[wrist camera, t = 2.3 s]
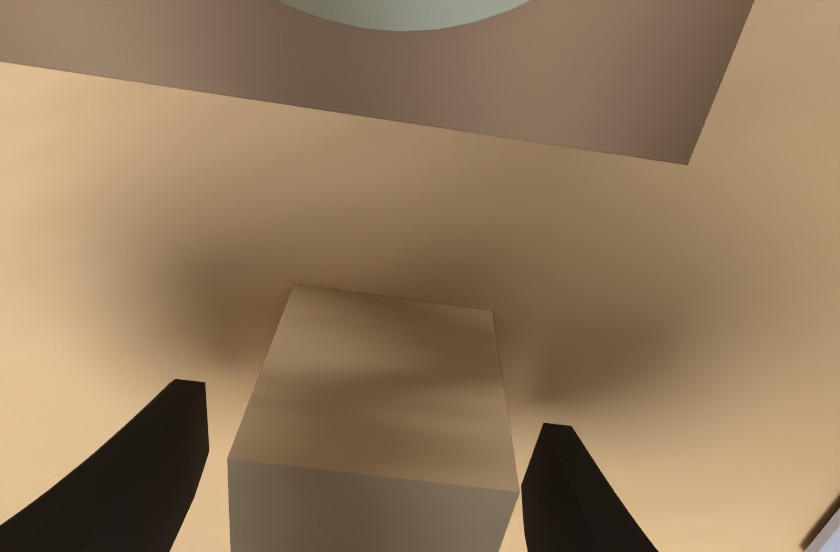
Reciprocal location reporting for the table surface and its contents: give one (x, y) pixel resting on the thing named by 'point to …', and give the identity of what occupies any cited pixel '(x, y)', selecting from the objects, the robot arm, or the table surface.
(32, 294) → the table surface
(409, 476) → the block
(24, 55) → the plinth
